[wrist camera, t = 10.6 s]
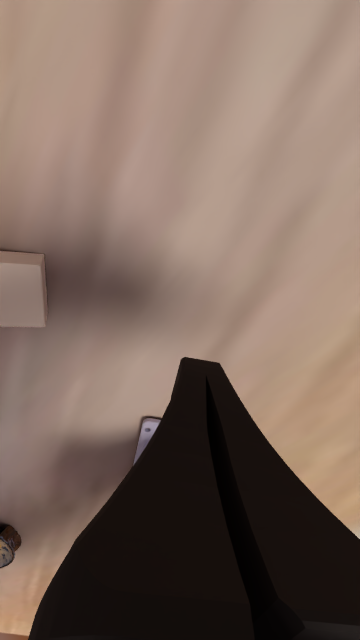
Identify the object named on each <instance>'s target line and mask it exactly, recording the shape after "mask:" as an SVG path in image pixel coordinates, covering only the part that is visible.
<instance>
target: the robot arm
mask: <svg viewBox="0 0 360 640" xmlns="http://www.w3.org/2000/svg"><path fill="white" fill-rule="evenodd" d="M28 640H360V539H359V538H358V537H357V536H356V535H355V534H354V533H352V532H351V531H350V530H349V529H348V528H347V527H346V526H345V525H344V524H343V523H342V522H341V521H340V520H339V519H338V518H337V517H336V516H335V515H333V514H332V513H331V512H330V511H329V510H328V509H327V508H326V507H325V506H324V505H323V504H322V503H321V502H320V501H319V500H318V498H317V497H316V496H315V495H314V494H313V493H312V492H311V491H310V490H309V489H308V488H307V487H306V486H305V485H304V483H303V482H302V481H301V480H300V479H299V478H298V477H297V476H296V475H295V474H294V472H293V471H292V470H291V469H290V468H289V467H288V466H287V464H286V463H285V462H284V461H283V459H282V458H281V457H280V456H279V455H278V453H277V452H276V451H275V450H274V448H273V447H272V446H271V445H270V443H269V442H268V441H267V439H266V438H265V436H264V435H263V434H262V432H261V431H260V429H259V428H258V426H257V425H256V424H255V422H254V421H253V419H252V418H251V416H250V414H249V413H248V411H247V410H246V408H245V407H244V405H243V403H242V402H241V400H240V398H239V397H238V395H237V393H236V392H235V390H234V388H233V386H232V385H231V383H230V381H229V379H228V378H227V376H226V374H225V372H224V370H223V368H222V367H221V365H220V363H217V362H211V361H205V360H199V359H194V358H188V357H184V358H182V359H181V361H180V365H179V369H178V373H177V377H176V380H175V384H174V388H173V392H172V395H171V400H170V403H169V405H168V407H167V409H166V411H165V413H164V415H163V417H162V419H161V420H158V419H152V418H147V419H145V420H144V421H143V424H142V428H141V433H140V437H139V441H138V446H137V450H136V455H135V459H134V463H133V467H132V468H131V470H130V471H129V473H128V474H127V475H126V477H125V478H124V480H123V481H122V482H121V484H120V485H119V486H118V488H117V489H116V490H115V492H114V493H113V494H112V496H111V497H110V498H109V500H108V501H107V502H106V504H105V505H104V506H103V507H102V509H101V510H100V511H99V512H98V513H97V515H96V516H95V517H94V518H93V519H92V521H91V522H90V523H89V524H88V525H87V527H86V528H85V529H84V530H83V531H82V533H81V534H80V535H79V536H78V537H77V539H76V540H75V542H74V544H73V545H72V547H71V549H70V551H69V552H68V554H67V556H66V557H65V559H64V561H63V562H62V564H61V565H60V567H59V569H58V571H57V572H56V574H55V576H54V577H53V579H52V581H51V583H50V585H49V586H48V588H47V590H46V592H45V594H44V596H43V598H42V600H41V602H40V605H39V607H38V610H37V612H36V615H35V618H34V621H33V625H32V628H31V632H30V635H29V639H28Z"/></svg>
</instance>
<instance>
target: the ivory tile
mask: <svg viewBox="0 0 360 640" xmlns="http://www.w3.org/2000/svg"><path fill="white" fill-rule="evenodd" d="M47 316H48V304H47V289H46V274H45V258H44V254H36V253H22V252H8V251H0V327H45V325H46V320H47Z"/></svg>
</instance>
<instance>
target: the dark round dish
mask: <svg viewBox="0 0 360 640" xmlns="http://www.w3.org/2000/svg"><path fill="white" fill-rule="evenodd" d="M17 535H18V536H17ZM20 545H21V537H20V535H19V534H18V533H17V532H15V531H14V528H13V527H12V526H10V525H8V526H7V528H6V529H5V530H4V531H3V532H2V533H1V534H0V568H3V567H5V566H7V565H9V564H10V563H12V561H13V560H14V558H15V551H16V550H17V549H18V548H19V547H20Z"/></svg>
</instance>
